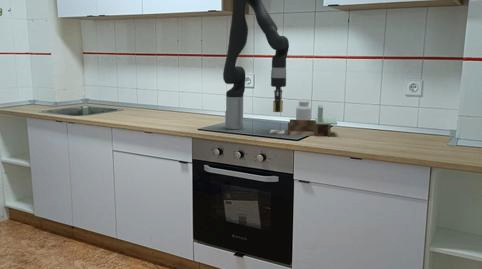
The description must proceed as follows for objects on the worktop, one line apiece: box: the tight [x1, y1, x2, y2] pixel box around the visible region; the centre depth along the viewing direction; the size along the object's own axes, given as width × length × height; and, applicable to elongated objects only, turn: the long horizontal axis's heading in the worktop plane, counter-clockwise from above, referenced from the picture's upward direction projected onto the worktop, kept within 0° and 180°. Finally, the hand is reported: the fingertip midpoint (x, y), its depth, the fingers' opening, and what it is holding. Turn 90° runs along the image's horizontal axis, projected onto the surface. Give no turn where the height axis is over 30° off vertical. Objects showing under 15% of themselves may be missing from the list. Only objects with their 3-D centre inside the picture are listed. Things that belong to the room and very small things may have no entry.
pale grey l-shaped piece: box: [314, 104, 338, 126], centre depth 224 cm, size 10×13×8 cm
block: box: [272, 99, 284, 113], centre depth 226 cm, size 4×4×6 cm
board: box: [268, 118, 332, 138], centre depth 227 cm, size 30×13×7 cm, turn 82°
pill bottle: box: [295, 100, 312, 120], centre depth 246 cm, size 8×8×15 cm
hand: (277, 110), depth 227 cm, fingers closed on block, 4 cm apart
